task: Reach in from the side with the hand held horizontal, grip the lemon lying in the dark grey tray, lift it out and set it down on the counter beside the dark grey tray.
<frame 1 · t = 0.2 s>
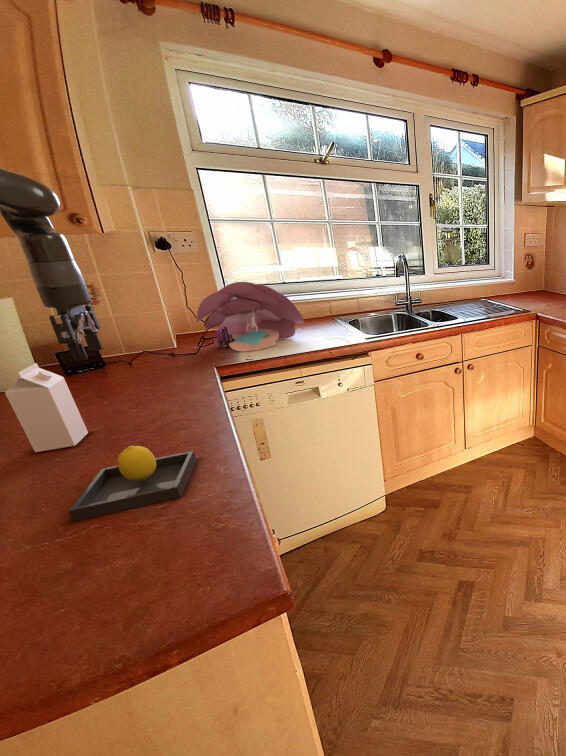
hand: (89, 355, 96), 21 cm above the counter, tool pointing down, fingers open, 8 cm apart
lemon: (144, 481, 85), resting on dark grey tray
dark grey tray: (141, 487, 83), on the counter
milk carton: (63, 443, 101), on the counter
purple shell playset: (257, 344, 177), on the counter
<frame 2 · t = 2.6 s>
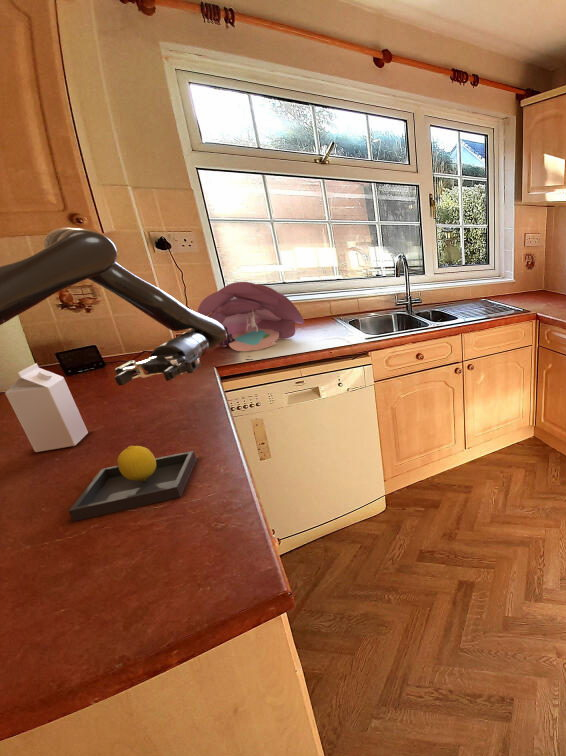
hand: (143, 378, 88), 18 cm above the counter, tool horizontal, fingers open, 8 cm apart
nothing on the counter moved.
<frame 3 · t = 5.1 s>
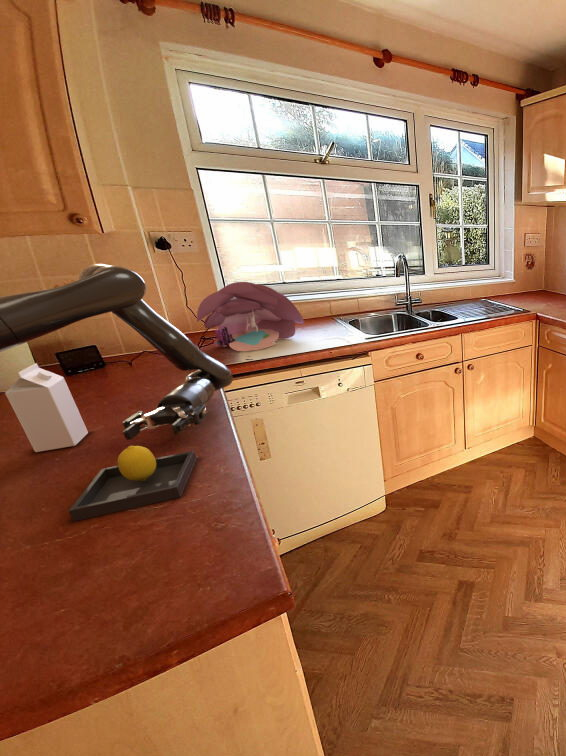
hand: (151, 432, 89), 7 cm above the counter, tool horizontal, fingers open, 8 cm apart
nothing on the counter moved.
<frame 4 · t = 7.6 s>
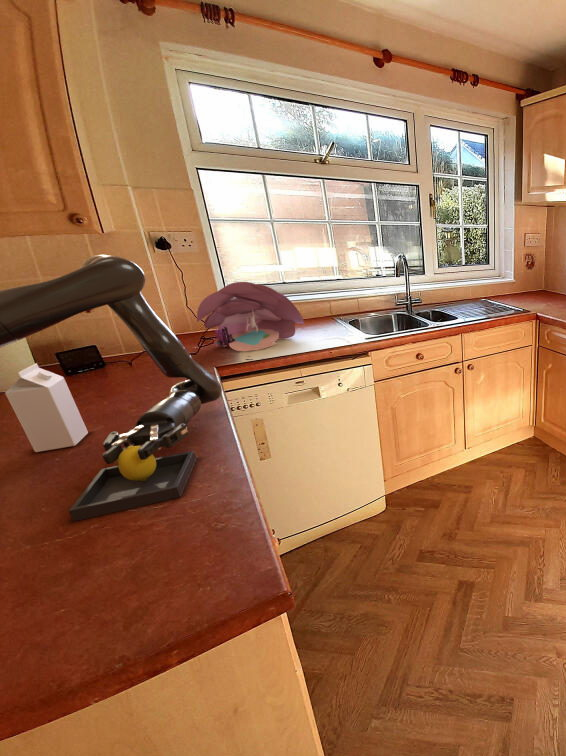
hand: (124, 457, 80), 7 cm above the counter, tool horizontal, fingers closed on lemon, 5 cm apart
lemon: (144, 481, 85), resting on dark grey tray, touching gripper
everything else where it was.
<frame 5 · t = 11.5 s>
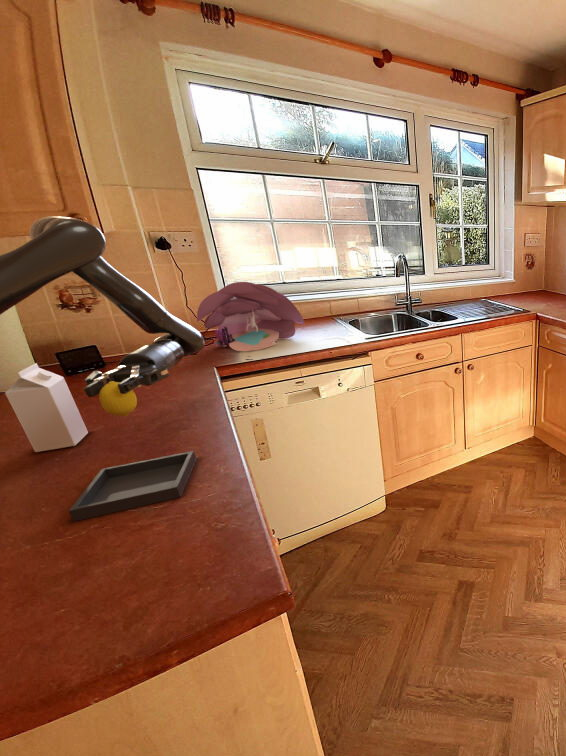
hand: (105, 390, 84), 18 cm above the counter, tool horizontal, fingers closed on lemon, 5 cm apart
lemon: (125, 417, 89), point 10 cm above the counter, touching gripper
everything else where it was.
when the fingers open (7 cm above the counter, at t = 15.3 s): lemon stays where it is, on the counter.
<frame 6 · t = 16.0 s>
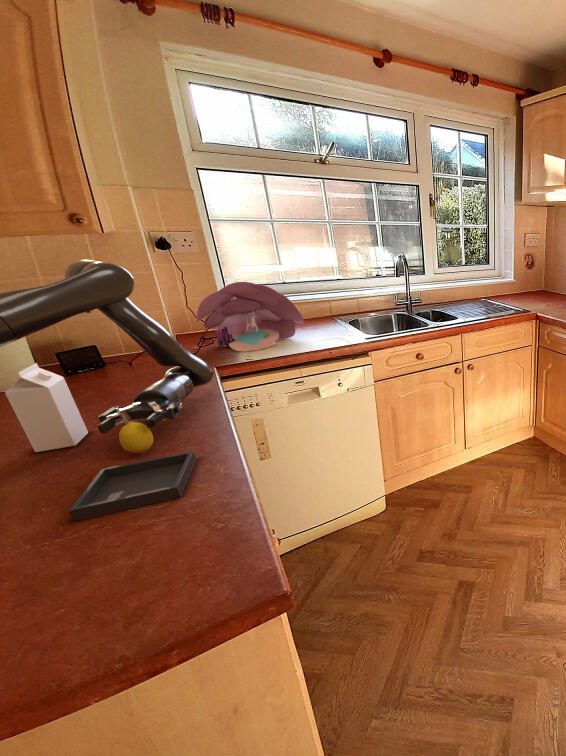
hand: (125, 427, 91), 8 cm above the counter, tool horizontal, fingers open, 8 cm apart
lemon: (142, 454, 95), on the counter
everything else where it was.
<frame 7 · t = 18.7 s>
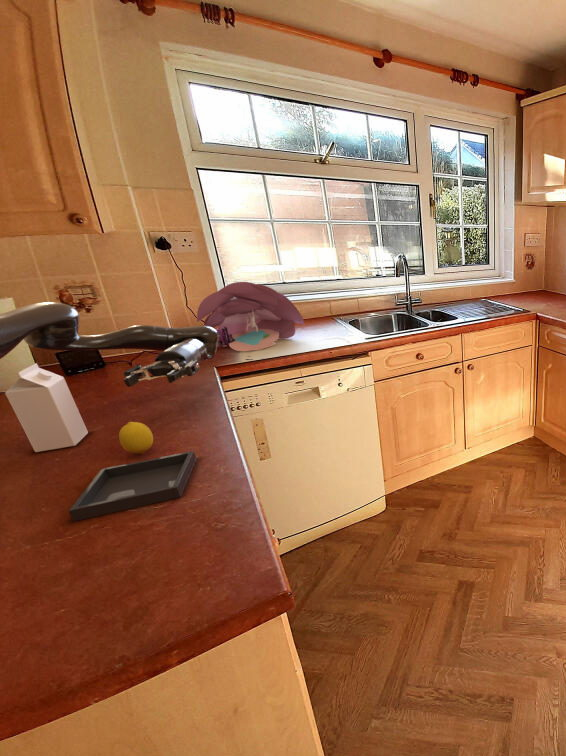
hand: (148, 380, 100), 14 cm above the counter, tool horizontal, fingers open, 8 cm apart
nothing on the counter moved.
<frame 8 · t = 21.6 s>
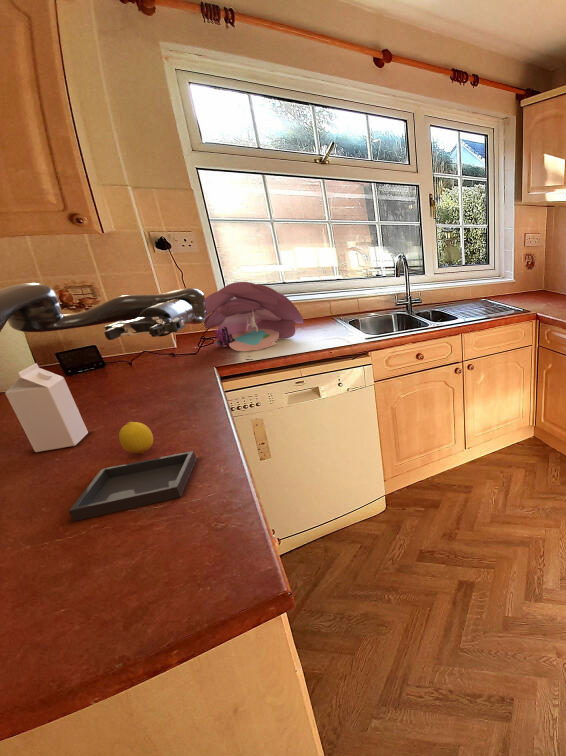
hand: (130, 334, 96), 25 cm above the counter, tool horizontal, fingers open, 8 cm apart
nothing on the counter moved.
at the end: lemon inside the target area (0.6 cm from its centre), on the counter; lemon touching counter; the gripper is holding nothing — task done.
